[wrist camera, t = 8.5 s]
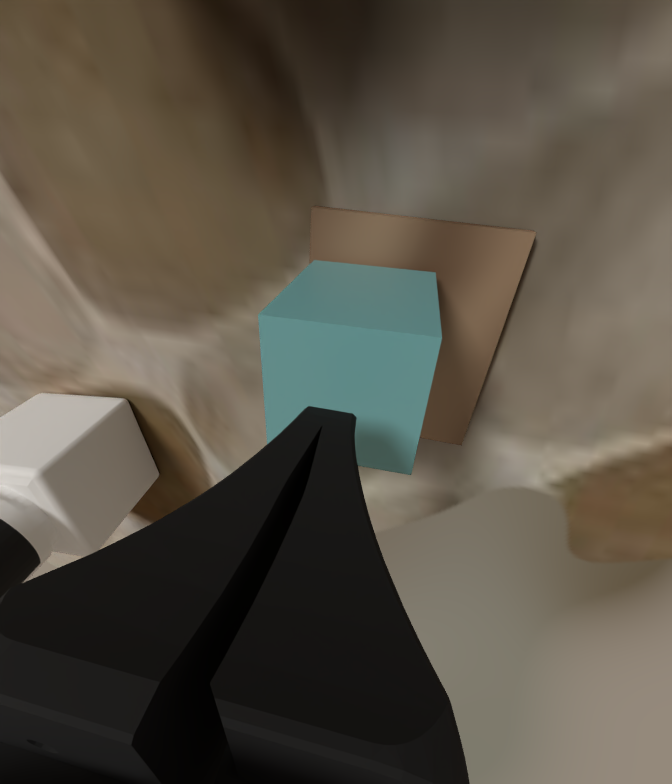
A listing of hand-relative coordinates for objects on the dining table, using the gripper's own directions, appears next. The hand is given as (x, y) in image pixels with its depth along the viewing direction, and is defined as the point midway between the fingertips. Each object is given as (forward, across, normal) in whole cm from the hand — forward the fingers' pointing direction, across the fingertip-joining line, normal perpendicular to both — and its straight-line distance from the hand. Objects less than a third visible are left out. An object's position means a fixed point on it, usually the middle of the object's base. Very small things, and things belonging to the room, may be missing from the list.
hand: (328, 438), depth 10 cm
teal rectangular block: (+8, 0, 0) cm, 8 cm away
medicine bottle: (+10, +18, +12) cm, 24 cm away
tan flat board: (+9, -2, +1) cm, 10 cm away
